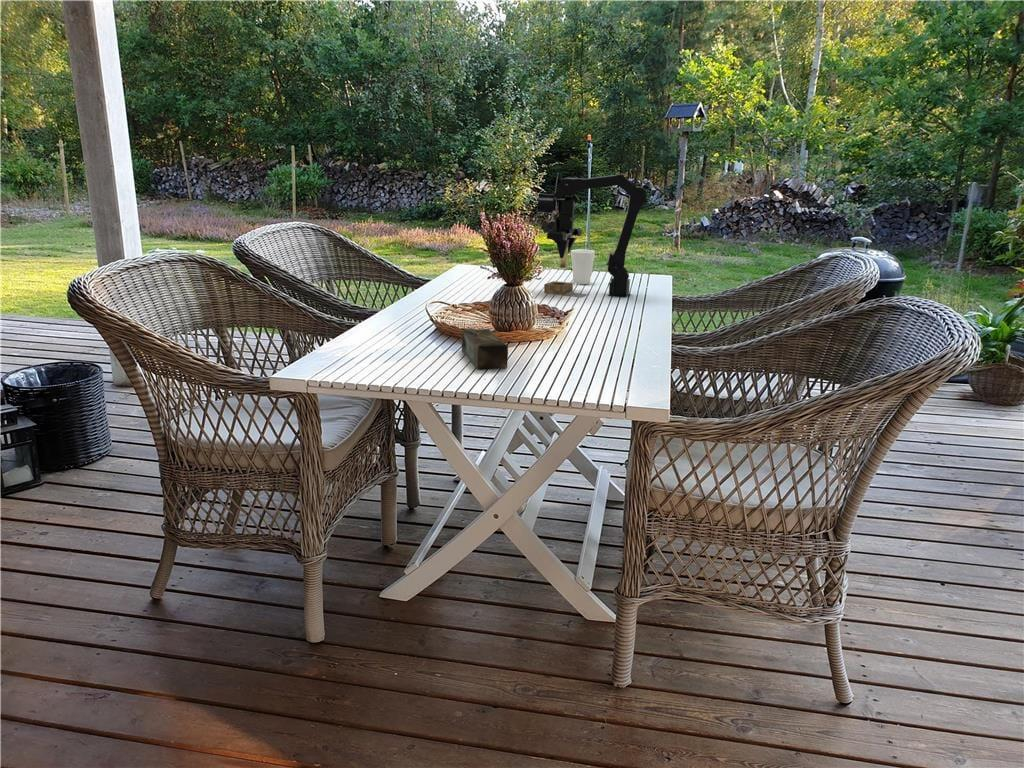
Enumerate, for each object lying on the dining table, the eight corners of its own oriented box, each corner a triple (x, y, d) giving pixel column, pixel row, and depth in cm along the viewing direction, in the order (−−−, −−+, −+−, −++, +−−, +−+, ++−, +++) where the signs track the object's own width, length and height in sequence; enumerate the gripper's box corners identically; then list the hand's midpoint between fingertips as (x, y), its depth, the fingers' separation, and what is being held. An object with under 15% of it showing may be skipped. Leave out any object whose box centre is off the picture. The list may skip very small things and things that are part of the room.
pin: (568, 267, 276) (569, 239, 273) (565, 268, 273) (566, 240, 270) (560, 266, 277) (562, 238, 274) (557, 267, 274) (558, 239, 271)
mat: (589, 295, 276) (589, 294, 276) (581, 298, 270) (581, 297, 270) (571, 293, 279) (571, 292, 279) (563, 296, 273) (563, 295, 273)
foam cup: (565, 282, 301) (566, 250, 297) (585, 281, 305) (586, 248, 301) (577, 286, 293) (578, 253, 289) (597, 285, 297) (599, 252, 293)
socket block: (572, 292, 281) (572, 283, 280) (563, 295, 274) (564, 286, 273) (553, 290, 285) (553, 281, 284) (544, 293, 278) (544, 284, 277)
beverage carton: (489, 349, 202) (490, 325, 200) (509, 369, 184) (509, 343, 182) (460, 351, 200) (460, 327, 198) (477, 371, 182) (477, 345, 180)
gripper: (555, 210, 281) (553, 252, 285) (534, 214, 265) (532, 258, 270) (583, 212, 276) (580, 255, 281) (563, 216, 260) (560, 261, 265)
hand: (563, 257), depth 274 cm, fingers closed on pin, 3 cm apart
